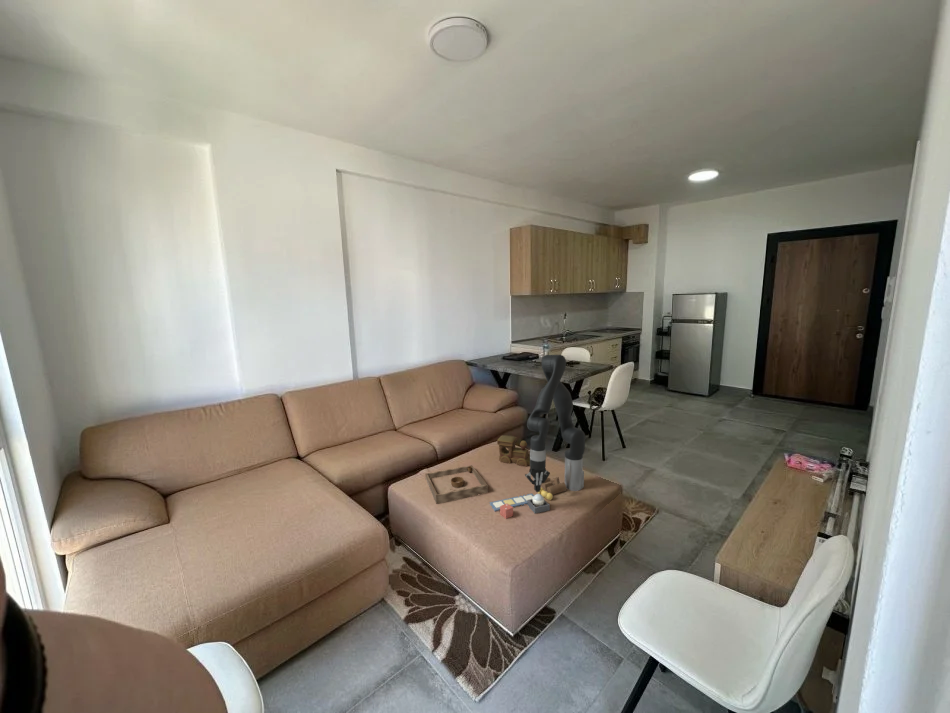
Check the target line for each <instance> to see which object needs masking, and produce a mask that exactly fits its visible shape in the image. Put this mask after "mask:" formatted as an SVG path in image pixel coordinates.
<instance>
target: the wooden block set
mask: <svg viewBox="0 0 950 713" xmlns="http://www.w3.org/2000/svg"><path fill="white" fill-rule="evenodd" d="M553 482H554V483H553ZM541 488H543V489H544V491H546V492H548V493H551V494H552V495H553V496H554V495H557V494H559V493H563V492H566V491H567V490H568V489H567V488H566V485H565V482H560V478H559V476H557V477H554V478H553V481H551V478H550V477H548V478H547V479H546V481H545V482H544V483H541Z"/></svg>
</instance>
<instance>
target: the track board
mask: <svg viewBox="0 0 950 713" xmlns="http://www.w3.org/2000/svg"><path fill="white" fill-rule="evenodd" d="M525 495H526V494H523V496H522V495H519V497H518V496H513V497H509V498H504V499H499V500H495V501H490V502H489V503H490V504H489V506H490V507H491V506H492V507H491V508H492V510H493V509H494V510H493V511H494V512H500V511H499V510H500V506H502V505H504V504H509V505H510V506H512V507H514V508H517V507H516V506H518V507H521V506H520V505H522V506H525V505H524V504H527V500H530V499H533V496H535V494H533V493H531V492H530V493H527V495H526V496H525Z"/></svg>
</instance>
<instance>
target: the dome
mask: <svg viewBox="0 0 950 713" xmlns="http://www.w3.org/2000/svg"><path fill="white" fill-rule="evenodd" d="M544 500H545V497H543V496H542V495H541V494H538V493H536V494H534V496H533V504H534V506H535V507H538V506H543V505H544Z"/></svg>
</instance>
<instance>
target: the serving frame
mask: <svg viewBox="0 0 950 713" xmlns="http://www.w3.org/2000/svg"><path fill="white" fill-rule="evenodd" d="M469 466H471V467H472V471H471V473H472V475H473V476H474V477H475V479H476V480H477V481H478V483H479V484H481V485H477V486H472V487H467V488H466V487H465V489H464V488H461V489H457V490H456V489H455V490H456V491H454V490H450V491H447V492H442V493H438V492H437V491H436V488H435V487H434V485H433V483H432V481H431V480H432V479H435V478H436V479H437V478H441V477H446V476H447V477H448V476H452V475H456V474H462V473H466V472H468V467H469ZM424 474H425V475H424V476H425V477H424V478H425V481H426V483H427V486H428V488H429V490H430V493H431V495H432V497H433V500H434V503H435V504H436V505H439V504H444V503H449V502H452V501H453V502H454V501H457V500H462V499H468V498H471V497H475V496H474V495H476V496H479V495H478V494H480V495H483V494H482V493H485V494H488V493H489V485H488V484H487V482H486V481H485V479H484V478H483V477H482V476H481V475H480V473H479V472H478V471H477V470H476V469H475V467H474V466H473V465H466V466H461V467H460V466H459V467H455V468H449V469H444V470H443V469H442V470H438V471H433V472H426V473H424ZM487 492H488V493H487ZM470 496H471V497H470Z"/></svg>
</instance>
